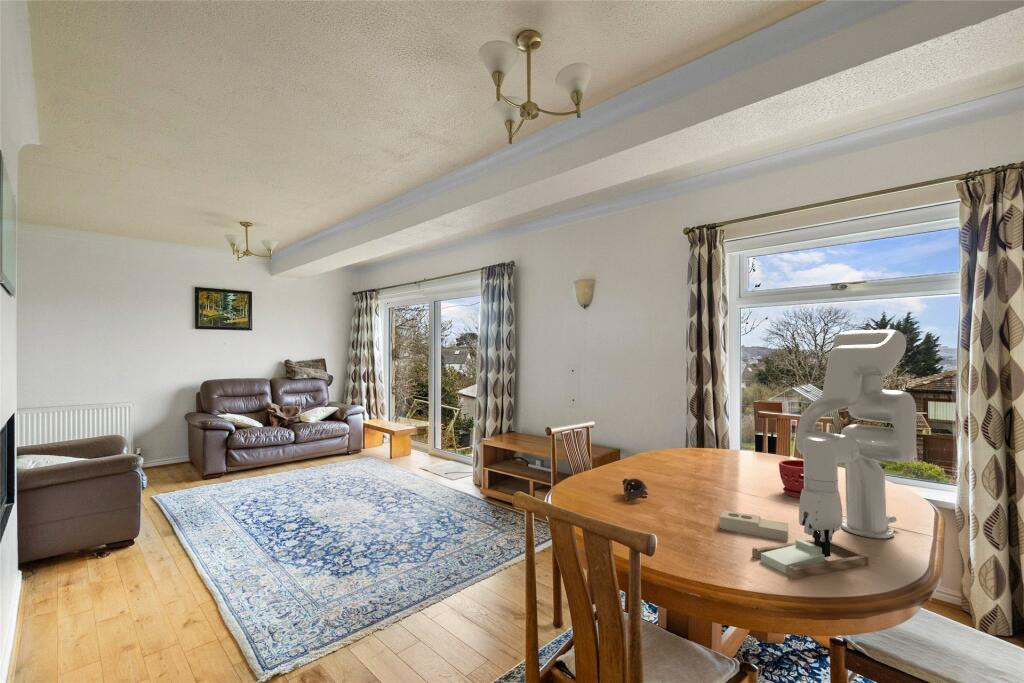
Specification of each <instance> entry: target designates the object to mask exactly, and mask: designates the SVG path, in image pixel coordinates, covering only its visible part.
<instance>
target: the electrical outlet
mask: <svg viewBox="0 0 1024 683" xmlns="http://www.w3.org/2000/svg"><path fill="white" fill-rule="evenodd" d="M718 521H719V529H720V528H722V529H721V530H724V529H727V530H726V531H729V530H731V532H735V531H736V533H742V534H746V535H752V536H757V537H763V538H768V539H773V540H779V541H785V542H788V539H789V523H788V522H782V521H777V520H771V519H763V518H762V516H760V515H757V514H756V515H755V514H750V513H744V512H737V511H730V510H726V509H725V510H723V509H722V512H721V513H720V515H719V520H718Z"/></svg>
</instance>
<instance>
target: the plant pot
mask: <svg viewBox="0 0 1024 683" xmlns="http://www.w3.org/2000/svg"><path fill="white" fill-rule="evenodd" d="M778 470H779V476H780V479H781V483H782V484H783V485H784V486H783V488H782V491H783V492H784V493H785V494H786V495H788V496H790V497H793V498H796V499H800V496H801V491H802V489H804V464H803V460H800V459H786V460H785V459H784V460H781V461H779V462H778Z"/></svg>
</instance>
